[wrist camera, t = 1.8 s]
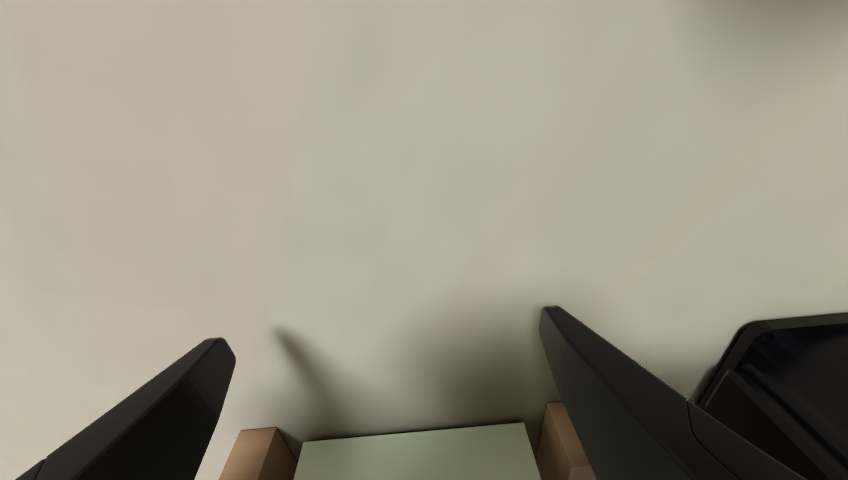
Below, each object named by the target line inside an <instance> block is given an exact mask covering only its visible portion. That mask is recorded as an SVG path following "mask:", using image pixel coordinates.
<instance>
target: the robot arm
mask: <svg viewBox="0 0 848 480" xmlns="http://www.w3.org/2000/svg"><path fill="white" fill-rule="evenodd" d="M539 332H540V336H541V340H542V343H543V346H544V349H545V353H546V356H547V359H548V362H549V365H550V369H551V372H552V375H553V378H554V381H555V384H556V387H557V390H558V392H559V395H560V397H561V399H562V402H563V404H564V406H565V409H566V411H567V413H568V415H569V418H570V420H571V422H572V425H573V427H574V429H575V432H576V434H577V436H578V438H579V441H580V443H581V445H582V448H583V450H584V452H585V454H586V457H587V459H588V461H589V464H590V466H591V468H592V471H593V473H594V475H595V477H596V480H848V313H846V314H835V315H824V316H814V317H803V318H792V319H781V320H771V321H761V322H757V323H754V324H752V325H750V326H749V327H747V328H746V329H745V330H744V331H743V332H742V334H741V336H740V337H739V339H738V341H737V342H736V344H735V346H734V347H733V349H732V350H731V352H730V354H729V355H728V357H727V359H726V360H725V362H724V364H723V365H722V367H721V368H720V370H719V372H718V373H717V375H716V377H715V378H714V380H713V382H712V383H711V385H710V386H709V388H708V390H707V391H706V393H705V395H704V396H703V398H702V400H701V401H700V403H699V404H698V406H696V405H695V404H693V403H692V402H691V401H686V398H685V397H684V396H682V395H681V394H679V393H678V392H677V391H675V390H674V389H673V388H671V387H670V386H668V385H667V384H666V383H664V382H663V381H662V380H660V379H659V378H657V377H656V376H655V375H653V374H652V373H651V372H649V371H648V370H646V369H645V368H644V367H642V366H641V365H639V364H638V363H637V362H635V361H634V360H633V359H631V358H630V357H628V356H627V355H626V354H624V353H623V352H622V351H620V350H619V349H617V348H616V347H615V346H613V345H612V344H611V343H609V342H608V341H606V340H605V339H604V338H602V337H601V336H600V335H598V334H597V333H595V332H594V331H593V330H591V329H590V328H589V327H587V326H586V325H584V324H583V323H582V322H580V321H579V320H578V319H576V318H575V317H573V316H572V315H571V314H569V313H568V312H566V311H565V310H564V309H562V308H561V307H559V306H556V305H555V306H545V307H543V308H542V311H541V318H540V326H539ZM235 363H236V358H235V355H234V353H233V352H232V350H231V348H230V347H229V345H228V343H227V342H226V340H225V339H224V338H221V337H219V338H209V339H206V340H204V341H203V342H202V343H200V344H199V345H197V346H196V347H195V348H193V349H192V350H191V351H189V352H188V353H187V354H185V355H184V356H183V357H181V358H180V359H178V360H177V361H176V362H174V363H173V364H172V365H170V366H169V367H168V368H166V369H165V370H164V371H162V372H161V373H159V374H158V375H157V376H155V377H154V378H153V379H151V380H150V381H149V382H147V383H146V384H145V385H143V386H142V387H140V388H139V389H138V390H136V391H135V392H134V393H132V394H131V395H130V396H128V397H127V398H126V399H124V400H123V401H121V402H120V403H119V404H117V405H116V406H115V407H113V408H112V409H111V410H109V411H108V412H107V413H105V414H104V415H102V416H101V417H100V418H98V419H97V420H96V421H94V422H93V423H92V424H90V425H89V426H88V427H86V428H85V429H83V430H82V431H81V432H79V433H78V434H77V435H75V436H74V437H73V438H71V439H70V440H68V441H67V442H66V443H64V444H63V445H62V446H60V447H59V448H58V449H56V450H55V451H54V452H52V453H51V454H49V455H48V456H47V458H46V459H43V460H41V461H40V462H38V463H37V464H36V465H34V466H33V467H32V468H30V469H29V470H28V471H26V472H25V473H24V474H22V475H21V476H20V477H18V478H17V479H15V480H194V479H195V476H196V474H197V471H198V469H199V467H200V464H201V462H202V459H203V457H204V454H205V452H206V449H207V447H208V445H209V442H210V440H211V437H212V435H213V432H214V430H215V427H216V425H217V422H218V419H219V417H220V414H221V411H222V407H223V404H224V401H225V397H226V394H227V391H228V387H229V384H230V381H231V377H232V374H233V371H234V368H235Z"/></svg>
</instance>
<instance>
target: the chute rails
mask: <svg viewBox="0 0 848 480" xmlns="http://www.w3.org/2000/svg"><path fill="white" fill-rule="evenodd" d="M297 464H298V463H297V461H296V460H295V458H294V456H293V455H292V453H291V452H290V450H289V448H288V447H287V445H286V443H285V442H284V440H283V438H282V437H281V435H280V433H279V432H278V430H277V428H266V429H254V430H243V431H240V433H239V435H238V437H237V440H236V442H235V444H234V446H233V449H232V451H231V453H230V455H229V458H228V460H227V462H226V464H225V467H224V469H223V471H222V473H221V476H220V478H219V480H293V479H294V476H295V472H296V468H297ZM536 464H537V468H538V471H539V474H540V477H541V480H596V477H595V475H594V473H593V471H592V468H591V466H590V464H589V461H588V459H587V457H586V454H585V452H584V450H583V448H582V445H581V443H580V441H579V438H578V436H577V434H576V432H575V429H574V427H573V425H572V422H571V420H570V418H569V415H568V413H567V411H566V409H565V406H564V404H563V402H554V403H547V404H546V410H545V415H544V420H543V426H542V431H541V436H540V442H539V447H538V452H537V458H536Z"/></svg>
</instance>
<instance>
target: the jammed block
mask: <svg viewBox="0 0 848 480" xmlns="http://www.w3.org/2000/svg"><path fill="white" fill-rule="evenodd" d="M293 480H541V477H540V474H539V471H538V468H537V464H536V461H535V458H534V455H533V451H532V448H531V445H530V441H529V438H528V435H527V432H526V428H525V425H524V422H523V423H512V424H501V425H490V426H478V427H467V428H456V429H445V430H434V431H423V432H411V433H400V434H389V435H378V436H367V437H355V438H344V439H333V440H322V441H311V442H303V446H302V450H301V453H300V457H299V461H298V464H297V468H296V472H295V476H294V479H293Z"/></svg>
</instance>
